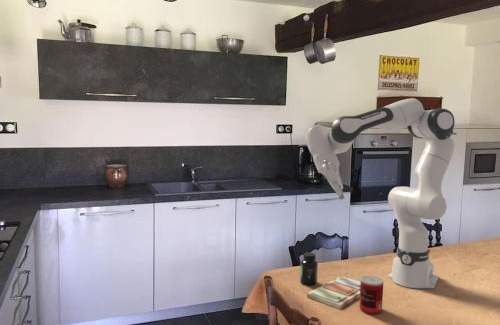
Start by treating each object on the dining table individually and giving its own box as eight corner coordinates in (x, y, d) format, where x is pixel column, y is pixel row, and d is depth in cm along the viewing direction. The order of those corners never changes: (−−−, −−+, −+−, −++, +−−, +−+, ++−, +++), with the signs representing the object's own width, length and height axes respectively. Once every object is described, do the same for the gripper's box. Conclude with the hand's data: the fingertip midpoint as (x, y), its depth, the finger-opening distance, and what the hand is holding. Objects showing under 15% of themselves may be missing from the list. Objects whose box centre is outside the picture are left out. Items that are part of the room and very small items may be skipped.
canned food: (377, 304, 156) (379, 275, 155) (385, 315, 148) (386, 284, 147) (356, 304, 156) (358, 275, 155) (363, 314, 148) (364, 284, 147)
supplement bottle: (298, 284, 173) (299, 255, 172) (301, 278, 179) (302, 250, 178) (315, 287, 171) (316, 257, 170) (318, 281, 177) (319, 252, 176)
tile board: (340, 279, 179) (340, 275, 179) (371, 289, 170) (371, 284, 170) (306, 297, 161) (307, 291, 161) (339, 309, 152) (340, 303, 152)
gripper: (331, 154, 156) (346, 188, 152) (338, 167, 175) (351, 198, 170) (315, 160, 158) (329, 195, 153) (323, 173, 176) (336, 204, 172)
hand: (341, 197), depth 162 cm, fingers open, 8 cm apart
